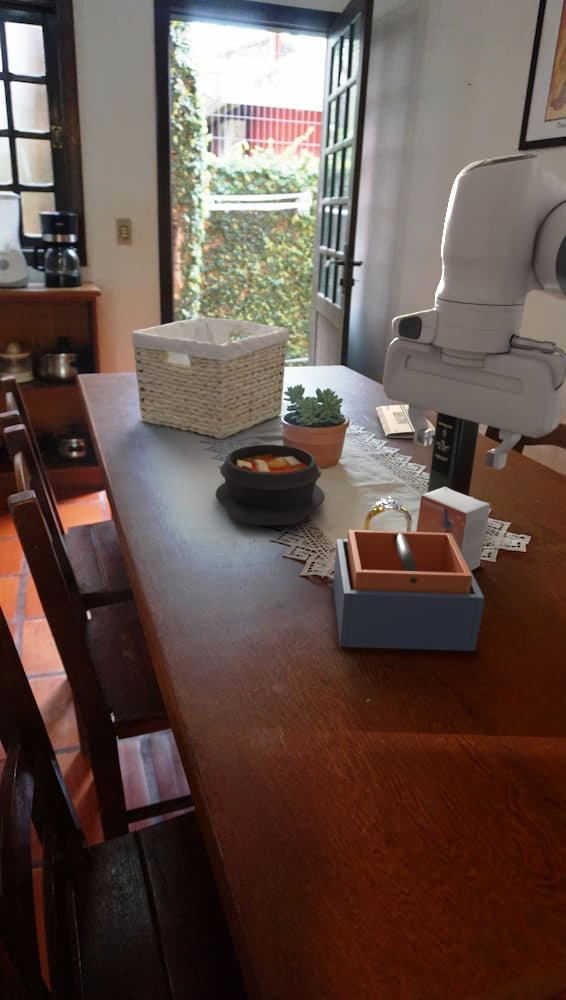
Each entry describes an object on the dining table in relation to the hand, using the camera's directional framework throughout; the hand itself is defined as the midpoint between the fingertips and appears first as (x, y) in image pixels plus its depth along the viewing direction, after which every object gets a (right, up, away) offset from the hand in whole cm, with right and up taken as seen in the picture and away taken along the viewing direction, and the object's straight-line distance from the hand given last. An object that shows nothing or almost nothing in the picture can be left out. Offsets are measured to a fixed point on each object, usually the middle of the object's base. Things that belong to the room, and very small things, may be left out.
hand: (457, 455), depth 76 cm
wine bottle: (+9, -6, +44) cm, 45 cm away
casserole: (-22, -6, +41) cm, 47 cm away
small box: (+4, -15, +23) cm, 27 cm away
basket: (-36, +14, +86) cm, 94 cm away
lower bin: (-5, -20, +9) cm, 23 cm away
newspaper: (+10, +13, +87) cm, 89 cm away
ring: (-4, -12, +27) cm, 30 cm away
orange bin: (-5, -19, +9) cm, 22 cm away
